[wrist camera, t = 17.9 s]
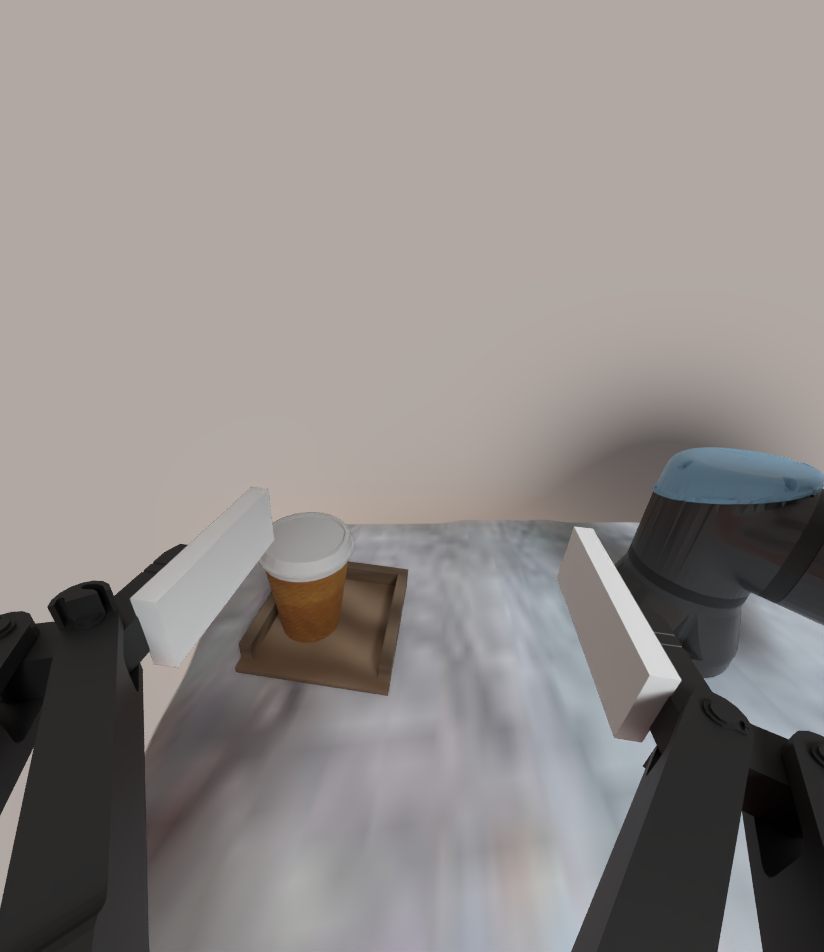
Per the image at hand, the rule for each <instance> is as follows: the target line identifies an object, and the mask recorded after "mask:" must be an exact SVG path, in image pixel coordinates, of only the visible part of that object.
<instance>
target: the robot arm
mask: <svg viewBox="0 0 824 952" xmlns="http://www.w3.org/2000/svg"><path fill="white" fill-rule="evenodd" d="M823 487H824V475H823V473H822V472H821V471H819V470H818V469H816V468H814V467H812V466H810V465H808V464H805V463H799V462H795V461H792V459H789V458H785V457H781V456H777V455H771V454H767V453H761V452H755V451H748V450H740V449H731V448H694V449H689V450H685V451H682V452H679V453H677V454H676V455H674V456H673V457H672V458H671V459H670V460H669V461H668V463H667V465H666V466H665V468H664V470H663V472H662V474H661V476H660V478H659V480H658V481H657V482H656V483H655V485H654V486H653V494H652V496H651V498H650V501H649V503H648V506H647V508H646V510H645V513H644V515H643V517H642V520H641V522H640V524H639V527H638V529H637V532H636V534H635V536H634V538H633V541H632V543H631V545H630V548H629V550H628V552H627V554H626V555H625V556H623V557H622V558H621V559H620V560H619V561H618V562H617V563H616V564H615V565H614V564H613V562H612V560H611V559H610V557H609V555H608V554H607V552H606V550H605V549H604V547H603V545H602V543H601V542H600V540H599V538H598V537H597V535H596V533H595V531H594V530H593V529H591V528H582V527H574V528H573V531H572V534H571V537H570V540H569V543H568V546H567V549H566V552H565V555H564V558H563V561H562V564H561V567H560V570H559V573H558V576H557V579H558V581H559V584H560V587H561V590H562V593H563V595H564V598H565V601H566V604H567V607H568V609H569V612H570V615H571V618H572V621H573V624H574V626H575V629H576V632H577V635H578V638H579V640H580V643H581V646H582V649H583V652H584V654H585V657H586V660H587V663H588V666H589V668H590V671H591V674H592V677H593V680H594V682H595V685H596V688H597V691H598V694H599V697H600V699H601V702H602V705H603V708H604V711H605V713H606V716H607V719H608V722H609V725H610V727H611V730H612V733H613V736H614V738H618V739H624V740H631V741H637V742H643V740H644V738H645V737H646V735H647V734H648V732H649V731H651V733H652V735H653V738H654V740H655V742H656V744H657V746H656V747H655V749H654V750H653V752H652V753H651V755H650V756H649V758H648V759H647V761H646V762H645V764H644V765H643V767H644V768H646V769H645V772H644V774H643V776H642V779H641V781H640V784H639V786H638V789H637V791H636V794H635V796H634V799H633V801H632V804H631V806H630V808H629V811H628V813H627V816H626V818H625V821H624V823H623V826H622V828H621V831H620V833H619V835H618V838H617V840H616V843H615V845H614V848H613V850H612V853H611V855H610V858H609V860H608V863H607V865H606V867H605V870H604V872H603V875H602V877H601V880H600V882H599V885H598V887H597V890H596V892H595V894H594V897H593V899H592V902H591V904H590V907H589V909H588V912H587V914H586V917H585V919H584V922H583V924H582V926H581V929H580V931H579V934H578V936H577V939H576V941H575V944H574V946H573V949H572V951H571V952H717V951H718V945H719V939H720V933H721V927H722V922H723V916H724V910H725V904H726V898H727V893H728V887H729V881H730V875H731V869H732V864H733V858H734V852H735V846H736V840H737V835H738V829H739V823H740V817H741V811H742V815H743V821H744V828H745V835H746V841H747V848H748V855H749V862H750V868H751V875H752V882H753V888H754V895H755V902H756V908H757V915H758V922H759V929H760V935H761V942H762V949H763V952H824V737H823V736H821V735H818V734H816V733H813V732H810V731H798V732H796V733H795V734H794V735H793V736H792V737H791V738H790V739H789V740H788V739H786V738H783V737H781V736H779V735H776V734H774V733H771V732H769V731H767V730H764V729H762V728H759V727H757V726H755V725H752V724H750V723H749V721H748V719H747V718H746V716H745V715H744V714H743V713H742V712H741V711H740V710H739V709H738V708H737V707H736V706H734V705H733V704H732V703H730V702H729V701H728V700H726V699H725V698H723V697H721V696H719V695H717V694H715V693H713V692H712V691H711V689H710V688H709V686H708V685H707V683H706V682H705V680H704V679H703V678H709V677H714V676H717V675H719V674H721V673H722V672H723V671H725V669H726V668H727V667H728V665H729V664H730V662H731V661H732V660H733V658H734V657H735V655H736V652H737V648H738V638H739V627H740V616H741V607H742V605H743V603H744V602H745V600H746V599H747V597H748V596H749V594H750V593H754V594H756V595H758V596H760V597H763V598H765V599H767V600H769V601H771V602H774V603H776V604H778V605H780V606H783V607H785V608H787V609H789V610H791V611H793V612H796V613H798V614H800V615H802V616H804V617H806V618H809V619H811V620H813V621H815V622H817V623H819V624H822V625H824V489H822V488H823ZM273 541H274V533H273V525H272V517H271V509H270V499H269V491H268V489H265V488H257V487H251V488H250V489H249V490H247V491H246V492H245V493H244V494H243V495H242V496H241V497H240V498H239V499H238V500H236V501H235V502H234V503H233V504H232V505H231V506H230V507H229V508H228V509H227V510H226V511H225V512H223V513H222V514H221V515H220V516H219V517H218V518H217V519H216V520H215V521H214V522H213V523H211V524H210V525H209V526H208V527H207V528H206V529H205V530H204V531H203V532H202V533H201V534H199V536H197V537H196V538H195V539H194V540H193V541H192V542H191V543H190V544H189V545H184V544H179V545H177V546H175V547H173V548H172V549H170V550H168V551H166V552H164V553H163V554H162V555H161V556H160V557H159V558H157V559H156V560H155V561H154V562H153V564H151V565H149V566H148V567H147V568H146V569H145V570H144V572H141V573H140V574H139V575H138V576H137V577H136V578H134V579H133V580H132V581H131V582H130V583H129V584H128V585H126V586H125V587H124V588H123V589H122V590H121V591H119V592H118V593H117V594H116V595H115V596H114V595H113V593H112V590H111V588H110V585H109V584H108V583H106V582H104V581H90V582H84V583H80V584H78V585H75V586H72V587H70V588H68V589H66V590H64V591H63V592H61V593H59V594H58V595H57V596H56V597H55V598H54V599H52V600H51V602H50V603H49V605H48V609H49V611H50V613H51V615H52V617H53V619H54V621H55V622H46V623H38V624H35V622H34V621H33V619H32V617H31V615H30V614H29V613H26V612H23V611H20V612H10V613H6V614H2V615H0V815H1V813H2V811H3V808H4V806H5V804H6V802H7V800H8V798H9V796H10V794H11V792H12V790H13V788H14V786H15V784H16V782H17V780H18V778H19V776H20V774H21V772H22V770H23V768H24V766H25V764H26V762H27V760H28V757H29V755H30V753H31V751H32V749H33V747H34V750H33V754H32V760H31V764H30V769H29V774H28V779H27V783H26V788H25V793H24V798H23V802H22V807H21V812H20V817H19V821H18V826H17V831H16V836H15V840H14V845H13V850H12V855H11V860H10V864H9V869H8V874H7V879H6V884H5V888H4V894H3V898H2V903H1V907H0V952H149V935H148V890H147V845H146V800H145V755H144V710H143V669H142V667H141V664H140V662H141V661H142V659H143V658H144V657H145V656H146V655H147V653H149V652H150V654H151V657H152V660H153V662H154V664H156V665H162V666H168V667H175V668H178V667H179V665H180V664H181V663H182V661H183V660H184V659H185V657H186V656H187V655H188V653H189V652H190V651H191V649H192V648H193V647H194V646H195V644H196V643H197V642H198V640H199V639H200V638H201V636H202V635H203V634H204V632H205V631H206V630H207V628H208V627H209V626H210V624H211V623H212V622H213V620H214V619H215V618H216V616H217V615H218V614H219V612H220V611H221V610H222V608H223V607H224V606H225V604H226V603H227V602H228V600H229V599H230V598H231V597H232V595H233V594H234V593H235V591H236V590H237V589H238V587H239V586H240V585H241V583H242V582H243V581H244V579H245V578H246V577H247V575H248V574H249V573H250V571H251V570H252V569H253V567H254V566H255V565H256V563H257V562H258V561H259V559H260V558H261V557H262V555H263V554H264V553H265V552H266V550H267V549H268V548H269V546H270V545H271V544H272V542H273Z"/></svg>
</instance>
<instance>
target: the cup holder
mask: <svg viewBox="0 0 824 952" xmlns="http://www.w3.org/2000/svg"><path fill="white" fill-rule="evenodd" d="M407 577H408V570H407V569H400V568H393V567H385V566H378V565H370V564H363V563H355V562H348V566H347V572H346V578H345V585H344V591H343V598H342V604H341V610H340V617H339V622H338V625H337V627H336V629H335V630H334V631H333V632H332V633H331V634H330V635H329V636H327V637H326V638H324V639H322V640H319V641H316V642H311V643H302V642H298V641H294V640H292V639H291V638H289V637H288V636H287V635H286V633H285V631H284V629H283V625H282V622H281V618H280V615H279V612H278V609H277V606H276V602H275V598H274V596H273V593H272V592H271V594H270V595H269V597H268V598H267V600H266V602H265V603H264V605H263V606H262V608H261V610H260V611H259V613H258V614H257V616H256V618H255V619H254V621H253V622H252V624H251V625H250V627H249V629H248V630H247V632H246V633H245V635H244V637H243V638H242V640H241V641H240V643H239V647H240V652H241V659H240V661H239V662H238V664H237V666H236V667H235V669H236V672H240V673H246V674H253V675H259V676H265V677H272V678H278V679H284V680H291V681H297V682H304V683H310V684H316V685H323V686H329V687H335V688H342V689H348V690H355V691H361V692H367V693H374V694H380V695H387V696H388V691H389V686H390V680H391V674H392V668H393V662H394V656H395V650H396V645H397V639H398V633H399V627H400V621H401V615H402V610H403V604H404V598H405V592H406V586H407Z"/></svg>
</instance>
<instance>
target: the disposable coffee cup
mask: <svg viewBox="0 0 824 952" xmlns="http://www.w3.org/2000/svg"><path fill="white" fill-rule="evenodd" d="M272 525H273V533H274V541H273V542H272V544H271V545H270V546H269V548H268V549H267V550H266V552H265V553H264V554H263V555H262V557H261V558H260V559H259V563H260V565H261V566H262V567H263V568H264V569H265V571H266V572H267V573H266V574H267V576H268V580H269V583H270V587H271V589H272V593H273V596H274V598H275V602H276V606H277V609H278V612H279V615H280V618H281V622H282V625H283V629H284V631H285V633H286V635H287V636H288V637H289V638H291V639H292V640H294V641H298V642H302V643H311V642H316V641H319V640H322V639H324V638H326V637H327V636H329V635H330V634H331V633H332V632H333V631H334V630H335V629H336V627H337V625H338V622H339V617H340V610H341V604H342V598H343V591H344V585H345V578H346V572H347V566H348V560H349V558H350V556H351V554H352V552H353V548H354V540H353V537H352V535H351V534H350V532H349V530H348V527H347V526H346V524H345V523H344V522H343V521H341V520H340V519H338V518H337V517H334V516H332V515H329V514H324V513H317V512H308V513H298V514H293V515H290V516H286V517H284V518H281V519H279V520H277V521H276V522H274V523H272Z"/></svg>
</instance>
